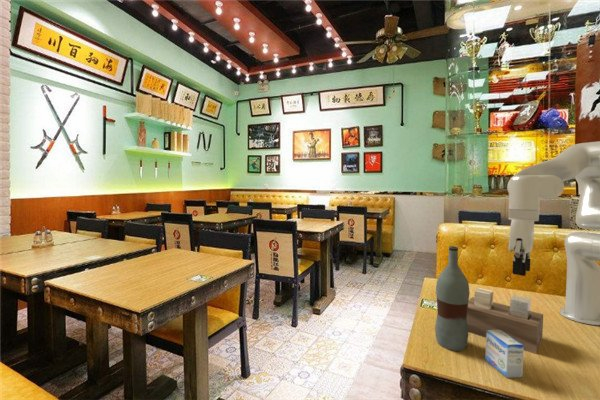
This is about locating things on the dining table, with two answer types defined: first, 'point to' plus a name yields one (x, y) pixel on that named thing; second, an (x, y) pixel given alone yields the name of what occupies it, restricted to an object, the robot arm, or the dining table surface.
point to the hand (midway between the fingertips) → (521, 271)
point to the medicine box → (504, 353)
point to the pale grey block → (520, 307)
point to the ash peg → (483, 298)
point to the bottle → (452, 305)
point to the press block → (506, 324)
